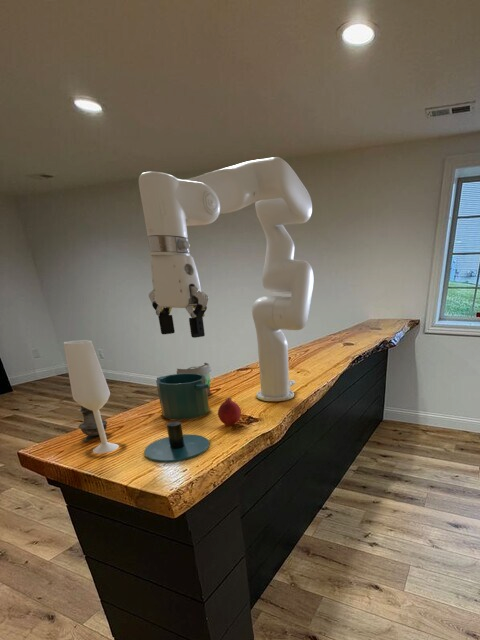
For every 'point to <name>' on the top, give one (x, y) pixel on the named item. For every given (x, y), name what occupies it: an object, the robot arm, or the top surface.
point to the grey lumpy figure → (90, 424)
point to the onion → (229, 412)
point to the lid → (176, 445)
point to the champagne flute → (88, 384)
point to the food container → (201, 370)
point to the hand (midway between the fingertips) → (182, 335)
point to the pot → (183, 396)
